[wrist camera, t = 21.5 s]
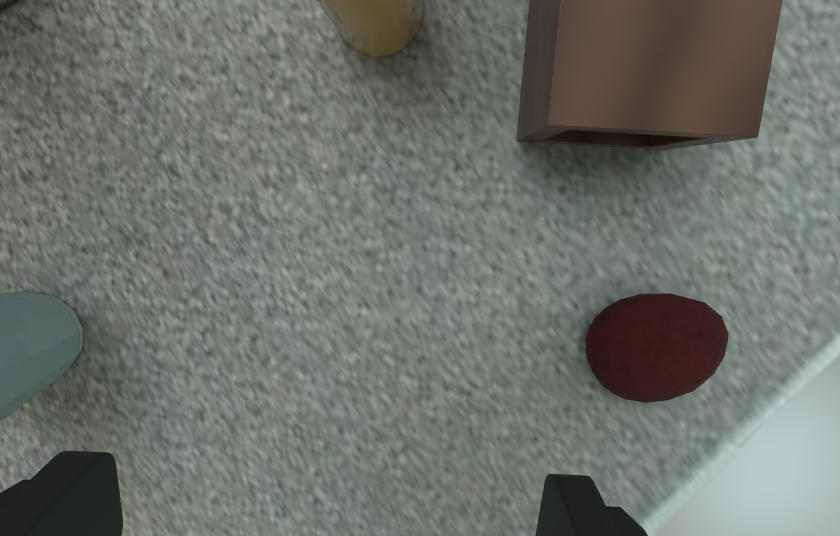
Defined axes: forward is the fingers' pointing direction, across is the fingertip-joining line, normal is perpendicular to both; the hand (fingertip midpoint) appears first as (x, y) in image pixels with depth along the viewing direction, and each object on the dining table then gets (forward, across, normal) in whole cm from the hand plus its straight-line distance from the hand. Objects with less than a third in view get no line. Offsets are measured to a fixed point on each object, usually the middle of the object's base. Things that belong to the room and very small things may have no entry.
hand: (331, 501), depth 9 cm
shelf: (+27, -13, -13) cm, 33 cm away
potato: (+25, -18, +7) cm, 32 cm away
